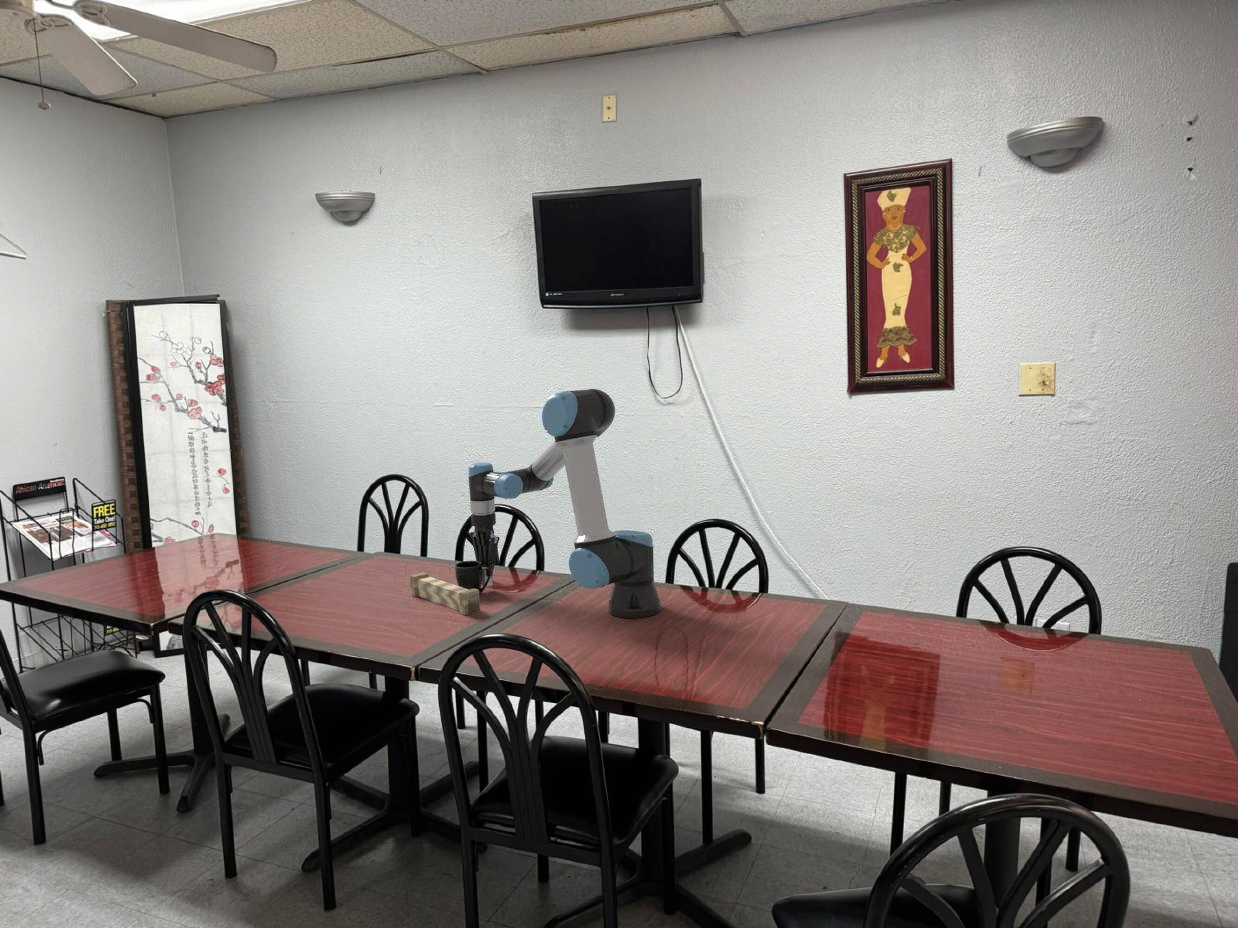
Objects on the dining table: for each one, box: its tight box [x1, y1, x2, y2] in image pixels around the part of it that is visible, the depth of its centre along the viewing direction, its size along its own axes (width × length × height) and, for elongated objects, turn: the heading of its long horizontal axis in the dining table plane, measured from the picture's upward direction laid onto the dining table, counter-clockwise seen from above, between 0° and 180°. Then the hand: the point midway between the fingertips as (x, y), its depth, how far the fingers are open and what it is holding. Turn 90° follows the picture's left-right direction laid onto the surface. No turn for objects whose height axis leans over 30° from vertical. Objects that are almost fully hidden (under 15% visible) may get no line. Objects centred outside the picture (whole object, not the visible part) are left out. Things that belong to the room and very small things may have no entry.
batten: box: [409, 571, 481, 616], centre depth 267 cm, size 30×5×6 cm, turn 44°
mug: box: [454, 560, 493, 594], centre depth 275 cm, size 8×12×10 cm
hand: (487, 585), depth 279 cm, fingers closed
